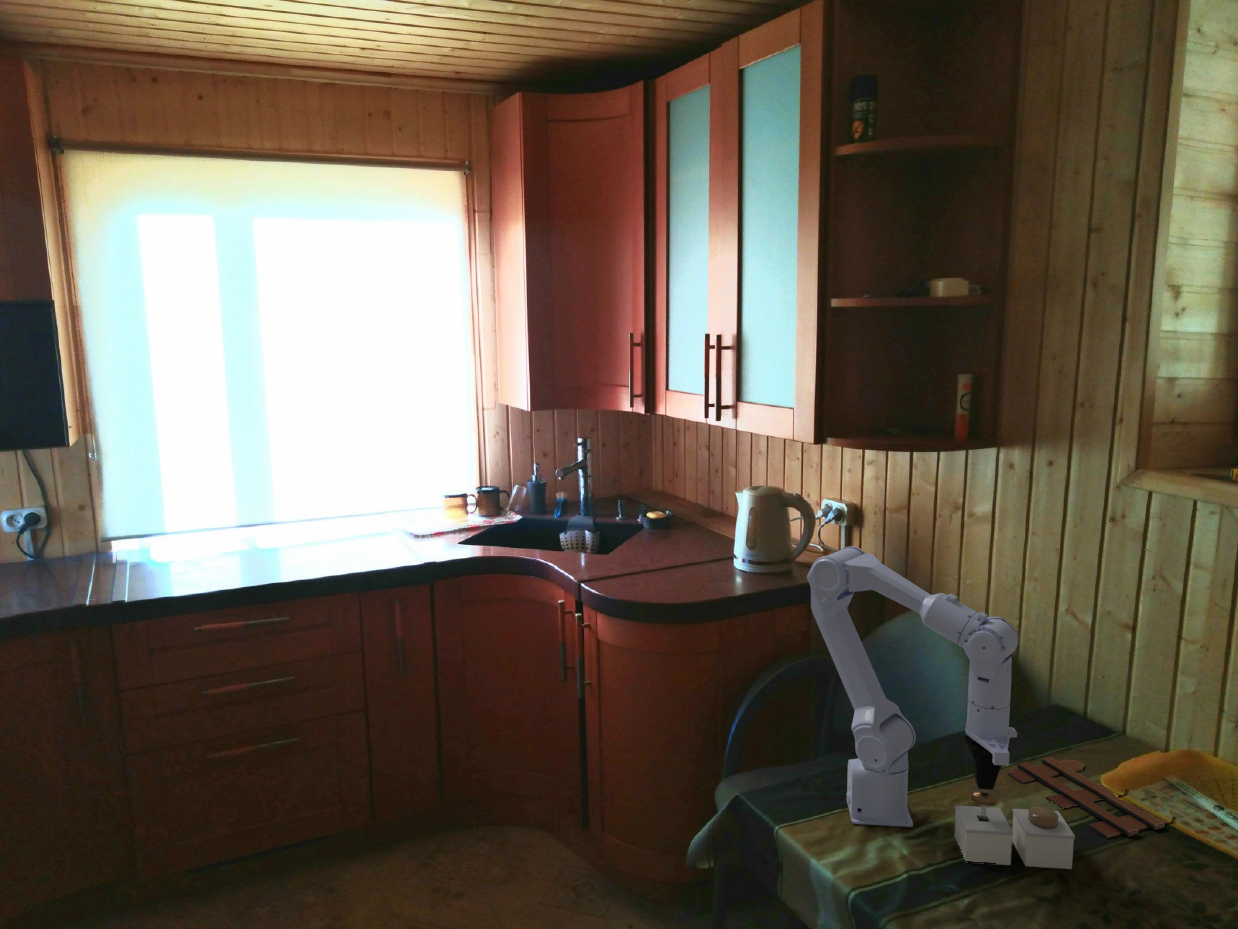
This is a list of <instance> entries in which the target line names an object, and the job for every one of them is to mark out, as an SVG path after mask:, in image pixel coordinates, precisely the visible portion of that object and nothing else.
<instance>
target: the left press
mask: <svg viewBox="0 0 1238 929" xmlns="http://www.w3.org/2000/svg"><path fill="white" fill-rule="evenodd" d="M954 810H955V815H954V816H955V818H954V839H955V838H956V840H957V842H958V844H957V846H958V845H959V847H960V849H961V851H960V853H961V852H962V854H963V856H962V858H963V857H964V858H963V860H964V859H965V861H971V862H972V861H973V862H989V863H990V862H991V863H996V864H995V865H998V866H999V865H1003V866H1011V864H1012V862H1011V861H1012V844H1013V842H1012V836H1013V828H1011V826H1010V824H1009V822H1008V820H1007V819H1006V816H1005V815H1004V813H1003V811H1002V810H1001V808H1000V807H989V806H986V822H984V821H981V806H971V805H954ZM956 840H955V841H956ZM957 842H956V843H957ZM959 847H958V848H959ZM960 849H959V850H960ZM962 854H961V855H962ZM965 861H964V862H965Z"/></svg>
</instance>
